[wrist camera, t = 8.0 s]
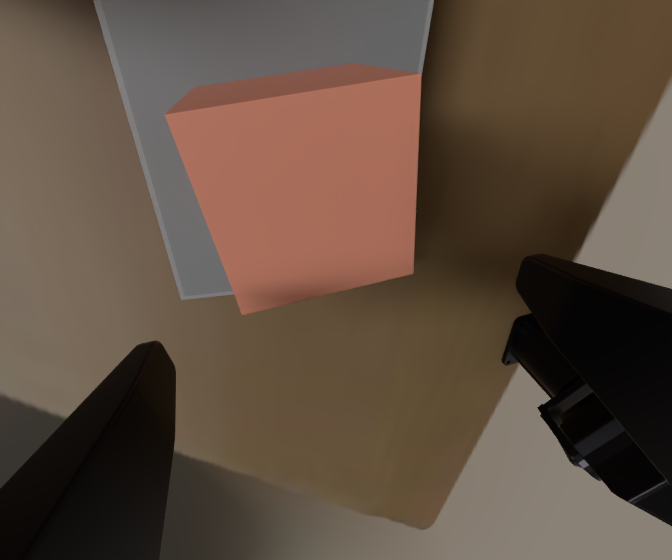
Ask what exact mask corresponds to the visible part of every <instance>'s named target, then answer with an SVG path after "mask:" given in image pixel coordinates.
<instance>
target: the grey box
mask: <svg viewBox="0 0 672 560" xmlns="http://www.w3.org/2000/svg"><path fill="white" fill-rule="evenodd" d="M93 1H94V5H95V8H96V11H97V15H98V18H99V22H100V25H101V28H102V32H103V35H104V39H105V42H106V45H107V49H108V52H109V56H110V59H111V62H112V66H113V69H114V73H115V76H116V80H117V83H118V86H119V90H120V93H121V97H122V100H123V103H124V107H125V110H126V114H127V117H128V120H129V124H130V127H131V131H132V134H133V137H134V141H135V144H136V148H137V151H138V154H139V158H140V161H141V165H142V168H143V171H144V175H145V178H146V182H147V185H148V189H149V192H150V195H151V199H152V202H153V206H154V209H155V212H156V216H157V219H158V223H159V226H160V229H161V233H162V236H163V240H164V243H165V246H166V250H167V253H168V257H169V260H170V263H171V267H172V270H173V274H174V277H175V280H176V284H177V287H178V291H179V294H180V297H181V300H186V299H195V298H204V297H213V296H222V295H231V294H234V293H233V290H232V287H231V285H230V282H229V280H228V277H227V275H226V272H225V269H224V267H223V264H222V262H221V259H220V256H219V254H218V251H217V249H216V246H215V244H214V241H213V238H212V236H211V233H210V231H209V228H208V226H207V223H206V220H205V218H204V215H203V213H202V210H201V208H200V205H199V202H198V200H197V197H196V195H195V192H194V189H193V187H192V184H191V182H190V179H189V177H188V174H187V171H186V169H185V166H184V164H183V161H182V159H181V156H180V153H179V151H178V148H177V146H176V143H175V141H174V138H173V135H172V133H171V130H170V128H169V125H168V122H167V120H166V117H165V114H166V113H167V112H168V111H169V110H170V109H171V108H172V107H173V106H174V105H175V104H176V103H178V102H179V101H180V100H181V99H182V98H183V97H184V96H185V95H186V94H187V93H188V92H189V91H190V90H192V89H193V88H194V87H198V86H205V85H211V84H218V83H224V82H231V81H238V80H244V79H251V78H257V77H264V76H271V75H277V74H284V73H290V72H297V71H304V70H310V69H317V68H323V67H330V66H337V65H343V64H350V63H356V64H362V65H369V66H375V67H382V68H389V69H395V70H402V71H408V72H415V73H422V70H423V64H424V58H425V52H426V46H427V40H428V34H429V28H430V22H431V16H432V9H433V3H434V0H93ZM421 76H422V74H421Z"/></svg>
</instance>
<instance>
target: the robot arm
mask: <svg viewBox="0 0 672 560" xmlns="http://www.w3.org/2000/svg"><path fill="white" fill-rule="evenodd" d="M516 289H517V291H518V293H519V294H520V296H521V297H522V299H523V300H524V302H525V303H526V305H527V306H528V308H529V309H530V311H531V312H532V315H528V316H524V317H521V318H518V319H517V320H516V321H515V322H514V325H513V328H512V331H511V334H510V337H509V340H508V343H507V346H506V349H505V352H504V355H503V358H502V363H503V364H504V365H506V366H507V365H511V364H514V363H517V362H519V363H520V364H521V365H522V367H523V368H524V369H525V370H526V371H527V372H528V373H529V374H530V375H531V377H532V378H533V379H534V380H535V381H536V382H537V383H538V384H539V386H540V387H541V388H542V389H543V390H544V391H545V392H546V393H547V394H548V395H549V397H550V398H551V399H550V400H549V401H548V402H546V403H545V404H544V405H543V404H542V405H540V406H539V407H538V409H539V411H540V412H541V415H540V416H541V417H542V418H543V420H544V421H545V422H546V423H547V425H548V426H549V428H550V429H551V430H552V432H553V433H554V435H555V436H556V437H557V439H558V441H559V443H560V444H561V446H562V448H563V450H564V451H565V454H566V455H567V457H568V458H569V461H570V462H571V463H572V464H573V465H574V466H578V467H581V468H583V469H584V470H585V471H586V472H588V473H589V474H590V475H591V476H592V477H594V478H595V479H597V480H598V481H601V480H602V481H603V482H604V483H605V484H606V485H607V486H608V488H609V489H610V491H611V492H613V493H614V494H615V495H617V496H618V497H620V498H622V499H624V500H625V501H627V502H629V503H631V504H633V505H634V506H636V507H638V508H640V509H642V510H644V511H645V512H647V513H649V514H651V515H652V516H654V517H656V518H658V519H660V520H662V521H663V522H665V523H667V524H669V525H670V526H672V289H670V288H666V287H662V286H659V285H655V284H652V283H647V282H644V281H641V280H637V279H633V278H629V277H625V276H622V275H618V274H615V273H611V272H607V271H603V270H600V269H596V268H593V267H589V266H585V265H582V264H578V263H574V262H571V261H567V260H563V259H560V258H556V257H552V256H549V255H545V254H535V255H531V256H527V257H525V258H524V259H523V260H522V263H521V266H520V269H519V272H518V276H517V279H516ZM175 408H176V370H175V366H174V364H173V362H172V360H171V359H170V357H169V355H168V353H167V352H166V350H165V348H164V347H163V345H162V344H161V343H160V342H159V341H151V342H147V343H142V344H139V345H137V346H136V347H135V348H134V349H133V350H132V351H131V352H130V353H129V354H128V355H127V356H126V357H125V358H124V359H123V360H122V361H121V362H120V363H119V365H118V366H117V367H116V368H115V369H114V370H113V371H112V372H111V373H110V374H109V375H108V376H107V377H106V378H105V379H104V380H103V381H102V382H101V383H100V384H99V385H98V387H97V388H96V389H95V390H94V391H93V392H92V393H91V394H90V395H89V396H88V397H87V398H86V399H85V400H84V401H83V402H82V403H81V404H80V405H79V406H78V407H77V409H76V410H75V411H74V412H73V413H72V414H71V415H70V416H69V417H68V418H67V419H66V420H65V421H64V422H63V423H62V424H61V425H60V426H59V427H58V428H57V430H56V431H55V432H54V433H53V434H52V435H51V436H50V437H49V438H48V439H47V440H46V441H45V442H44V443H43V444H42V445H41V446H40V447H39V448H38V449H37V450H36V451H35V453H34V454H33V455H32V456H31V457H30V458H29V459H28V460H27V461H26V462H25V463H24V464H23V465H22V466H21V467H20V468H19V469H18V470H17V471H16V472H15V473H14V475H13V476H12V477H11V478H10V479H9V480H8V481H7V482H6V483H5V484H4V485H3V486H2V487H1V488H0V560H159V557H160V550H161V542H162V535H163V527H164V519H165V511H166V504H167V496H168V489H169V481H170V474H171V466H172V459H173V451H174V442H175Z"/></svg>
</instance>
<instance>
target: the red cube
mask: <svg viewBox="0 0 672 560" xmlns="http://www.w3.org/2000/svg"><path fill="white" fill-rule="evenodd" d="M421 74H422V73H415V72H408V71H402V70H395V69H389V68H382V67H375V66H369V65H362V64H356V63H350V64H343V65H337V66H330V67H323V68H317V69H310V70H304V71H297V72H290V73H284V74H277V75H271V76H264V77H257V78H251V79H244V80H238V81H231V82H224V83H218V84H211V85H205V86H198V87H194V88H193V89H192V90H190V91H189V92H188V93H187V94H186V95H185V96H184V97H183V98H182V99H181V100H180V101H179V102H178V103H176V104H175V105H174V106H173V107H172V108H171V109H170V110H169V111H168V112H167V113H166V114H165V117H166V120H167V122H168V125H169V128H170V130H171V133H172V135H173V138H174V141H175V143H176V146H177V148H178V151H179V153H180V156H181V159H182V161H183V164H184V166H185V169H186V171H187V174H188V177H189V179H190V182H191V184H192V187H193V189H194V192H195V195H196V197H197V200H198V202H199V205H200V208H201V210H202V213H203V215H204V218H205V220H206V223H207V226H208V228H209V231H210V233H211V236H212V238H213V241H214V244H215V246H216V249H217V251H218V254H219V256H220V259H221V262H222V264H223V267H224V269H225V272H226V275H227V277H228V280H229V282H230V285H231V287H232V290H233V293H234V295H235V298H236V300H237V303H238V305H239V308H240V311H241V313H242V315H244V314H249V313H253V312H257V311H261V310H265V309H269V308H273V307H278V306H282V305H286V304H290V303H294V302H298V301H302V300H307V299H311V298H315V297H319V296H323V295H327V294H331V293H336V292H340V291H344V290H348V289H352V288H356V287H361V286H365V285H369V284H373V283H377V282H381V281H385V280H390V279H394V278H398V277H402V276H406V275H410V274H413V270H414V245H415V221H416V196H417V172H418V147H419V123H420V98H421Z"/></svg>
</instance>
